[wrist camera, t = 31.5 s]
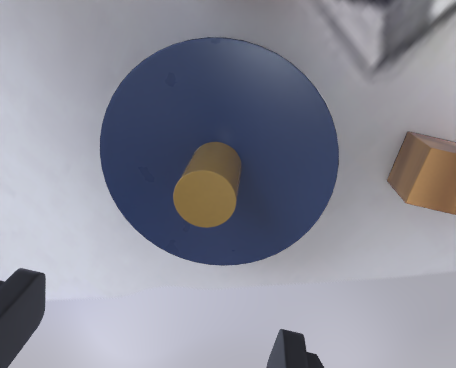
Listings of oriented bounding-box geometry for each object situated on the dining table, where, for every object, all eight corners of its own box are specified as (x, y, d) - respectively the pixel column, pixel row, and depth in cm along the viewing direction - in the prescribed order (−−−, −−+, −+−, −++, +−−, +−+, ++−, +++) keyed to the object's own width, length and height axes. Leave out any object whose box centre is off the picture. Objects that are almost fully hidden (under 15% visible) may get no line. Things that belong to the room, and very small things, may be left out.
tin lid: (98, 231, 30) (56, 282, 24) (115, 10, 23) (62, 2, 17) (297, 277, 30) (305, 341, 24) (372, 70, 23) (410, 84, 17)
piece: (386, 180, 32) (405, 203, 28) (407, 131, 30) (431, 147, 26) (437, 192, 32) (463, 217, 28) (461, 143, 30) (493, 162, 26)
